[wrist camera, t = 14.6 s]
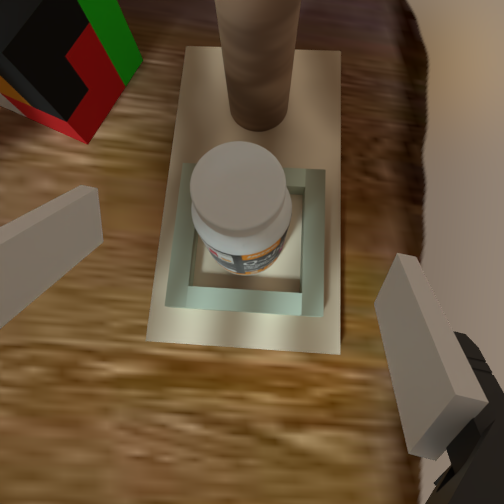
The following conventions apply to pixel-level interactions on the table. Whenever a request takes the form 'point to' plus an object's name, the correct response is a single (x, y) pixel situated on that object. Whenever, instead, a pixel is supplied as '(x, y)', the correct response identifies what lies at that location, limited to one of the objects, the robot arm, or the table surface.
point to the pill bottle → (241, 206)
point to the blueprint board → (297, 182)
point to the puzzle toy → (65, 61)
